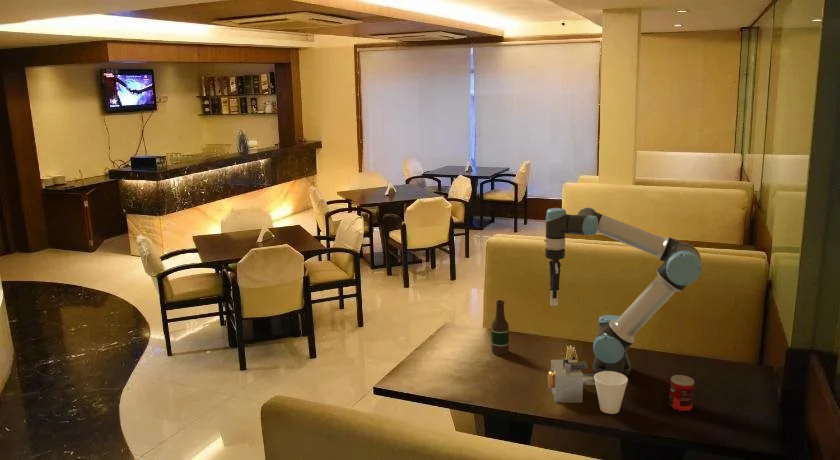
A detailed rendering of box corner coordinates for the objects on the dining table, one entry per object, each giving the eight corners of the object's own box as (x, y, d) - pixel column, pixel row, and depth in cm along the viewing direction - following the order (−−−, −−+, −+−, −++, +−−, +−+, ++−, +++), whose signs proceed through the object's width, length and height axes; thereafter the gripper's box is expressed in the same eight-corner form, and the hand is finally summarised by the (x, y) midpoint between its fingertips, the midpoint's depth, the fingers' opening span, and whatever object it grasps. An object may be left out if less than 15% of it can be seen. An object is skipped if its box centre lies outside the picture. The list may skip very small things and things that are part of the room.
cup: (633, 411, 241) (635, 380, 238) (609, 420, 235) (611, 388, 232) (609, 398, 251) (610, 368, 248) (586, 406, 245) (587, 375, 242)
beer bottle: (508, 356, 291) (508, 304, 286) (490, 355, 293) (490, 303, 288) (509, 349, 299) (509, 298, 294) (492, 348, 300) (492, 297, 295)
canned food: (673, 400, 248) (674, 372, 246) (695, 406, 243) (697, 378, 241) (665, 408, 243) (667, 380, 240) (688, 414, 238) (690, 386, 235)
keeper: (585, 364, 255) (585, 360, 254) (587, 368, 250) (587, 365, 250) (563, 364, 255) (563, 360, 255) (565, 369, 251) (565, 365, 251)
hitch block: (576, 385, 262) (576, 354, 259) (582, 402, 248) (583, 369, 245) (550, 385, 263) (551, 354, 260) (555, 402, 249) (556, 369, 246)
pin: (593, 383, 257) (594, 368, 256) (596, 391, 251) (597, 375, 250) (547, 383, 258) (547, 368, 257) (549, 390, 252) (550, 375, 251)
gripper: (543, 243, 266) (542, 299, 271) (547, 252, 253) (546, 310, 258) (562, 243, 265) (561, 299, 271) (567, 251, 253) (566, 310, 258)
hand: (553, 305), depth 265 cm, fingers closed
